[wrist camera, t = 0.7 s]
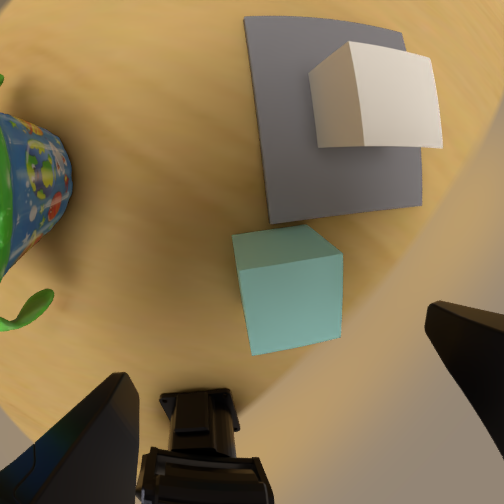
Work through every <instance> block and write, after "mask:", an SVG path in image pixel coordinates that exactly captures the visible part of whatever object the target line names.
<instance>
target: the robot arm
mask: <svg viewBox="0 0 504 504" xmlns="http://www.w3.org/2000/svg"><path fill="white" fill-rule="evenodd" d="M425 332H426V334H427V336H428V338H429V339H430V341H431V343H432V344H433V346H434V348H435V349H436V351H437V353H438V355H439V356H440V358H441V360H442V361H443V363H444V365H445V367H446V368H447V370H448V371H449V373H450V374H451V375H452V377H453V378H454V380H455V381H456V383H457V384H458V385H459V387H460V388H461V390H462V391H463V393H464V394H465V396H466V397H467V399H468V401H469V402H470V403H471V405H472V407H473V408H474V410H475V411H476V413H477V415H478V416H479V417H480V419H481V421H482V423H483V424H484V426H485V427H486V429H487V431H488V432H489V434H490V436H491V438H492V439H493V441H494V443H495V444H496V446H497V448H498V450H499V452H500V453H501V455H502V456H503V459H504V315H503V314H499V313H494V312H489V311H484V310H480V309H475V308H471V307H467V306H462V305H458V304H453V303H449V302H444V301H436V302H434V303H431V304H430V305H429V306H428V309H427V314H426V320H425ZM224 394H226V395H224ZM164 399H165V400H164ZM159 401H160V403H161V405H162V407H163V409H164V411H165V413H166V415H167V416H168V418H169V420H170V432H169V443H168V450H162V449H158V448H156V447H151V449H150V453H149V454H145V455H143V456H142V463H141V470H140V474H139V478H138V482H137V485H136V475H137V463H138V452H139V394H138V392H137V390H136V388H135V386H134V384H133V383H132V381H131V379H130V377H129V375H128V374H127V373H125V372H117V373H112V374H111V375H110V376H109V377H108V378H106V379H105V380H104V381H103V382H102V383H101V384H100V385H99V386H97V387H96V388H95V389H94V390H93V391H92V392H91V393H90V394H89V395H87V396H86V397H85V398H84V399H83V400H82V401H81V402H80V403H78V404H77V405H76V406H75V407H74V408H73V409H72V410H71V411H70V412H68V413H67V414H66V415H65V416H64V417H63V418H62V419H61V420H59V421H58V422H57V423H56V424H55V425H54V426H53V427H52V428H51V429H49V430H48V431H47V432H46V433H45V434H44V435H43V436H42V437H41V438H39V439H38V440H37V441H36V442H35V444H33V445H32V446H31V447H29V448H28V449H27V450H26V451H25V452H24V453H23V454H21V455H20V456H19V457H18V458H17V459H16V460H14V461H13V462H12V463H10V465H8V466H6V467H5V468H4V469H3V470H1V471H0V504H135V496H136V497H137V498H138V499H139V500H140V501H141V502H142V504H274V496H273V492H272V489H271V486H270V484H269V481H268V479H267V477H266V474H265V471H264V469H263V467H262V464H261V461H260V459H259V457H252V458H236V450H235V442H234V432H237V431H239V430H240V424H239V421H238V417H237V414H236V410H235V406H234V403H233V399H232V395H231V392H230V390H228V389H220V390H212V391H203V392H192V393H180V394H164V395H161V396H160V399H159Z"/></svg>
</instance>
